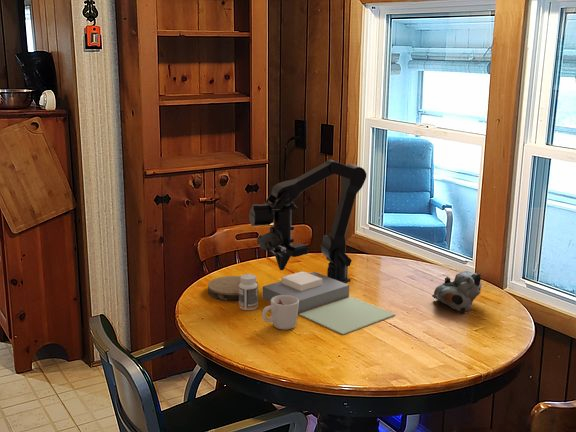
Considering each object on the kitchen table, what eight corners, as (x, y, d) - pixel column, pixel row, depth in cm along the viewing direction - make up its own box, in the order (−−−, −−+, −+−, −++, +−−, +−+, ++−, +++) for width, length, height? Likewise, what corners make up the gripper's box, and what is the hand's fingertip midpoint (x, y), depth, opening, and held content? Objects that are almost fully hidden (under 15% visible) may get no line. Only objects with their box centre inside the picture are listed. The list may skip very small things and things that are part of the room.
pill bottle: (259, 304, 212) (259, 273, 209) (256, 311, 206) (256, 280, 204) (240, 303, 212) (240, 272, 210) (237, 310, 207) (237, 279, 204)
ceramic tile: (302, 277, 224) (303, 271, 224) (322, 284, 218) (322, 278, 217) (281, 283, 218) (281, 277, 218) (301, 291, 212) (301, 284, 211)
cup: (268, 336, 190) (269, 308, 188) (256, 325, 196) (256, 298, 194) (303, 329, 194) (304, 302, 192) (290, 318, 201) (290, 293, 199)
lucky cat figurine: (432, 295, 221) (454, 258, 220) (466, 315, 218) (488, 277, 217) (428, 299, 206) (452, 258, 205) (465, 320, 203) (489, 279, 202)
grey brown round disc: (259, 285, 229) (259, 276, 228) (256, 303, 213) (256, 294, 212) (211, 283, 229) (211, 275, 228) (204, 301, 214) (204, 292, 213)
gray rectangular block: (314, 283, 230) (314, 271, 229) (348, 296, 219) (349, 285, 218) (262, 298, 216) (262, 286, 215) (296, 314, 205) (297, 301, 204)
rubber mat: (351, 297, 218) (351, 296, 218) (395, 315, 205) (395, 314, 205) (299, 315, 204) (299, 313, 204) (343, 335, 191) (343, 333, 191)
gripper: (244, 221, 222) (244, 267, 226) (282, 234, 209) (281, 283, 213) (270, 216, 230) (270, 260, 234) (309, 228, 216) (308, 275, 220)
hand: (281, 270), depth 225 cm, fingers closed
